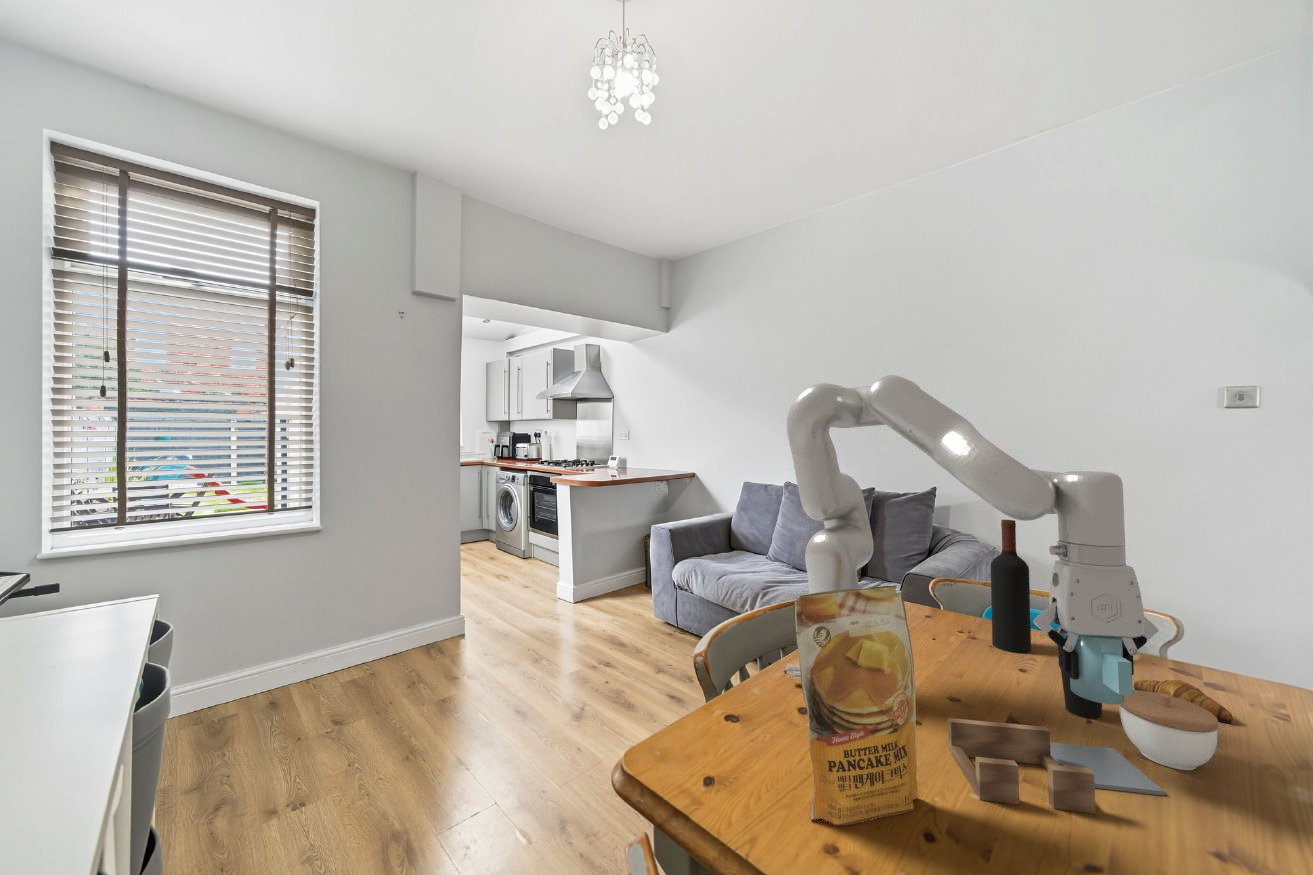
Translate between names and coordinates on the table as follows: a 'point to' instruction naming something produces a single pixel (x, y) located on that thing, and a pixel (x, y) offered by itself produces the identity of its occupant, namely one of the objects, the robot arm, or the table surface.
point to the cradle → (998, 766)
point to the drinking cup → (1079, 701)
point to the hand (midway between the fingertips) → (1095, 676)
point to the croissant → (1185, 695)
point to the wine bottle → (1010, 596)
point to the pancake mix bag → (858, 702)
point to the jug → (1102, 670)
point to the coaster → (1105, 768)
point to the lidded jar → (1169, 729)
